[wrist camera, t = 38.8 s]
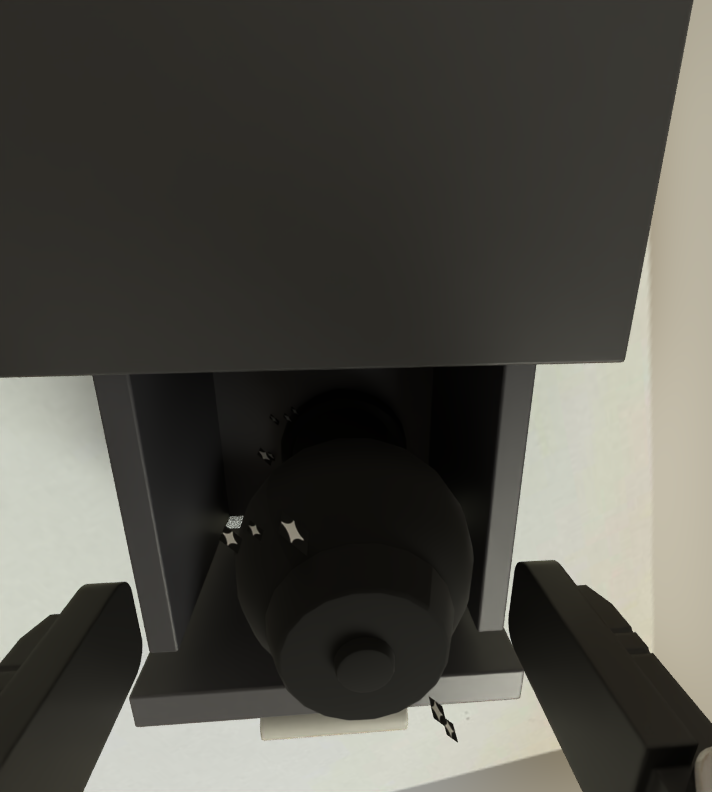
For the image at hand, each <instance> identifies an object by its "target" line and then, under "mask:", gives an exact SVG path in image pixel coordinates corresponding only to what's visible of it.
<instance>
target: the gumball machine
mask: <svg viewBox="0 0 712 792" xmlns="http://www.w3.org/2000/svg"><path fill="white" fill-rule="evenodd" d="M291 411H292V412H293V413H294V414H293V416H292V417H291V418H290V417H289V416H287V415H286V414H285V413H284V416H283V417H284V418H285V419H286V420H287V421H288V422H287V424H286V427H285V430H284V433H283V436H282V440H281V456H282V464H280V465H279V466H277V467H276V468H275V469H274V470H273V471H272V472H271V474H270V475H269V476H268V478H267V479H266V480H265V481H264V483H263V484H262V485H261V487H260V488H259V489H258V491H257V492H256V493H255V494H254V496H253V497H252V498H251V500H250V502H249V504H248V506H247V508H246V511H245V514H244V518H243V521H242V524H241V527H240V530H239V534H238V535H237V534H235V533H234V532H233V531H232V530H230V529H229V528H228V527H226V526H224V529H223V531H222V534H221V537H220V539H219V540H220V541H221V542H223V543H224V544H225V545H227V546H228V547H229V548H231V549H232V550H233V551H234V554H235V569H236V582H237V595H238V599H239V602H240V605H241V608H242V610H243V612H244V614H245V616H246V618H247V620H248V622H249V624H250V626H251V629H252V631H253V633H254V635H255V636H256V638H257V639H258V641H259V642H260V644H261V645H262V647H264V648H265V649H266V650H267V651H268V652H269V653H270V654H271V655H272V657H273V660H274V663H275V666H276V668H277V671H278V673H279V675H280V677H281V679H282V681H283V683H284V685H285V688H286V690H287V691H288V692H289V693H290V694H291V695H292V696H293V697H294V698H296V699H297V700H298V701H299V702H300V703H301V704H302V705H303V706H304V707H307V708H309V709H311V710H313V711H315V712H317V713H319V714H321V715H324V716H327V717H332V718H338V719H343V720H349V721H351V720H369V719H377V718H381V717H384V716H388V715H391V714H395V713H398V712H400V711H402V710H404V709H406V708H407V707H409V706H411V705H413V704H415V703H416V702H418V701H420V700H421V699H422V698H423V697H424V696H425V695H426V694H427V693H428V692H429V691H430V690H431V689H432V688H433V687H434V686H435V685H436V684H437V683H438V681H439V679H440V677H441V675H442V673H443V671H444V669H445V667H446V666H447V663H448V657H449V650H450V643H451V637H452V635H453V633H454V631H455V629H456V627H457V625H458V623H459V621H460V619H461V617H462V616H463V614H464V611H465V609H466V606H467V604H468V601H469V593H470V585H471V578H472V570H473V562H474V556H473V548H472V543H471V539H470V535H469V531H468V527H467V523H466V519H465V515H464V513H463V510H462V508H461V505H460V504H459V502H458V501H457V499H456V498H455V497H454V495H453V494H452V492H451V491H450V490H449V488H448V487H447V485H446V484H445V482H444V481H443V480H442V478H441V477H440V476H439V474H438V473H437V471H436V470H434V469H433V468H431V467H430V466H429V465H427V464H426V463H424V462H423V461H422V460H420V459H419V458H417V457H416V456H414V455H413V454H411V453H410V452H409V451H407V450H406V443H407V440H406V437H405V433H404V430H403V426H402V423H401V421H400V420H399V419H398V417H397V416H396V414H395V413H394V412H393V410H392V409H391V408H390V407H389V406H388V405H386V404H385V403H384V402H382V401H381V400H379V399H378V398H377V397H375V396H372V395H369V394H366V393H363V392H360V391H357V390H334V391H330V392H327V393H324V394H321V395H317V396H315V397H313V398H312V399H310V400H309V401H307V402H306V403H305V404H303V405H302V406H300V407H299V408H298V409H297V410H295V409H294V408H293V407H292V406H291ZM269 418H270V419H271V420H272V421H273V422H275V423H276V424H277V425H278V424H279V421H278V420H277V419H276V418H275V417H274V416H273V415H272V414H271V415H270V417H269ZM257 455H258V456H260V457H261V458H262V459H263V460H264V461H265V462H267V463H268V464H269V465H270V466H271V462H272V460H273V461H275V457H274V456H273V455H272V454H271V453H270V452H269V451H268V454H267V453H266V452H265V451H264V450H263V449H262V448H260V449H259V451H258V454H257ZM429 700H430V704H431V709H432V713H433V717H434V719H436V720H437V721H438V722H440V723H441V724H443V725H444V726H445V729H446V733H447V735H448V736H450V737H451V738H452V739H454V740H455V741H456V742H458V741H457V737H456V734H455V730H454V726H453V724H452V723H451V722H449V721H448V720H447V719H445V716H444V712H443V708H442V706H441V705H440V704H439V703H437V702H436V701H435V700H433V699H432V698H431V697H429Z"/></svg>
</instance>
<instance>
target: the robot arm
mask: <svg viewBox="0 0 712 792" xmlns="http://www.w3.org/2000/svg"><path fill="white" fill-rule="evenodd" d="M508 624H509V633H510V638H511V642H512V645H513V648H514V651H515V653H516V655H517V657H518V659H519V661H520V663H521V665H522V667H523V669H524V672H525V674H526V676H527V678H528V680H529V682H530V684H531V686H532V688H533V690H534V692H535V694H536V696H537V698H538V700H539V703H540V705H541V707H542V709H543V711H544V713H545V715H546V717H547V719H548V721H549V723H550V725H551V727H552V729H553V731H554V734H555V736H556V738H557V740H558V742H559V744H560V746H561V748H562V750H563V752H564V754H565V756H566V758H567V760H568V762H569V765H570V767H571V769H572V771H573V772H574V775H575V777H576V779H577V781H578V783H579V785H580V787H581V789H582V791H583V792H712V723H711V722H710V721H709V720H708V718H707V717H706V716H705V715H704V714H703V713H702V711H701V710H700V709H699V708H698V706H697V705H696V704H695V703H694V702H693V700H692V699H691V698H690V697H689V696H688V695H687V693H686V692H685V691H684V690H683V689H682V687H681V686H680V685H679V684H678V683H677V681H676V680H675V679H674V678H673V677H672V675H671V674H670V673H669V672H668V671H667V669H666V668H665V667H664V666H663V665H662V663H661V662H660V661H659V660H658V659H657V657H656V656H655V655H654V654H653V653H650V652H649V649H648V647H647V645H646V644H645V643H644V642H643V641H642V639H641V638H640V637H639V636H638V635H637V633H636V632H633V631H632V627H631V626H630V625H629V624H628V623H627V621H626V620H625V619H624V618H623V617H622V615H621V614H620V613H619V612H618V611H617V609H616V608H615V607H614V606H613V605H612V604H611V603H610V602H608V601H607V600H606V599H604V598H603V597H602V596H600V595H599V594H598V593H596V592H595V591H593V590H592V589H591V588H589V587H588V586H587V585H579V586H577V585H576V584H575V583H574V581H573V580H572V579H571V578H570V576H569V575H568V574H567V572H566V571H565V570H564V569H563V567H562V566H561V565H560V564H559V563H558V562H557V561H555V560H546V561H527V562H518V563H517V565H516V567H515V571H514V579H513V587H512V594H511V602H510V610H509V619H508ZM141 656H142V637H141V632H140V628H139V623H138V618H137V614H136V609H135V604H134V599H133V595H132V590H131V587H130V585H129V584H128V583H127V582H115V583H96V584H85V585H84V586H82V587H81V588H80V589H79V590H78V591H77V592H76V594H75V595H74V596H73V598H72V599H71V600H70V602H69V603H68V604H67V606H66V607H65V608H64V609H63V611H62V612H61V613H60V614H54V615H49V616H48V617H47V618H46V619H44V620H43V621H42V622H41V623H39V624H38V625H37V626H35V627H34V628H33V629H32V630H30V631H29V632H28V633H27V634H25V635H24V636H23V637H22V638H20V639H19V641H18V642H17V643H16V644H15V646H14V647H13V648H12V649H11V651H10V652H9V653H8V654H7V655H6V657H5V658H4V659H3V660H2V662H1V663H0V792H83V791H84V789H85V786H86V784H87V782H88V780H89V778H90V775H91V773H92V771H93V769H94V767H95V765H96V762H97V760H98V758H99V756H100V754H101V752H102V749H103V747H104V745H105V743H106V741H107V739H108V736H109V734H110V732H111V730H112V728H113V725H114V723H115V721H116V719H117V717H118V715H119V712H120V710H121V708H122V706H123V704H124V702H125V699H126V697H127V695H128V693H129V691H130V689H131V686H132V684H133V682H134V680H135V678H136V675H137V673H138V670H139V666H140V662H141Z"/></svg>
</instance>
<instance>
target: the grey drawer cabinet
mask: <svg viewBox="0 0 712 792" xmlns="http://www.w3.org/2000/svg"><path fill="white" fill-rule="evenodd" d="M692 5H693V0H0V378H6V377H46V376H87V375H127V374H168V373H209V372H249V371H290V370H330V369H371V368H411V367H452V366H492V365H533V364H574V363H614V362H623V361H624V360H625V356H626V351H627V346H628V341H629V335H630V330H631V325H632V320H633V314H634V309H635V304H636V299H637V293H638V288H639V283H640V278H641V272H642V267H643V262H644V257H645V251H646V246H647V241H648V236H649V230H650V225H651V219H652V215H653V209H654V204H655V199H656V194H657V188H658V183H659V178H660V172H661V167H662V162H663V157H664V152H665V146H666V141H667V136H668V131H669V125H670V120H671V115H672V109H673V104H674V99H675V94H676V89H677V84H678V78H679V73H680V67H681V62H682V57H683V52H684V47H685V42H686V36H687V31H688V26H689V21H690V15H691V10H692Z"/></svg>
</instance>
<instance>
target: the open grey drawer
mask: <svg viewBox="0 0 712 792" xmlns="http://www.w3.org/2000/svg"><path fill="white" fill-rule="evenodd" d="M535 371H536V364H533V365H492V366H452V367H411V368H371V369H330V370H290V371H249V372H209V373H168V374H127V375H92V376H93V381H94V385H95V390H96V395H97V400H98V405H99V410H100V414H101V419H102V424H103V429H104V434H105V439H106V443H107V448H108V453H109V458H110V463H111V468H112V472H113V477H114V482H115V487H116V492H117V497H118V501H119V506H120V511H121V516H122V521H123V526H124V531H125V535H126V540H127V545H128V550H129V555H130V560H131V564H132V569H133V574H134V579H135V584H136V589H137V593H138V598H139V603H140V608H141V613H142V618H143V622H144V627H145V632H146V637H147V642H148V647H149V651H150V653H149V655H148V657H147V659H146V662H145V664H144V666H143V668H142V670H141V673H140V675H139V677H138V679H137V681H136V684H135V686H134V688H133V690H132V692H131V695H130V697H129V700H130V704H131V709H132V713H133V717H134V721H135V725H136V727H146V726H159V725H173V724H186V723H200V722H213V721H226V720H240V719H253V718H260V732H261V738H262V740H264V741H265V740H278V739H291V738H304V737H317V736H330V735H342V734H355V733H368V732H381V731H394V730H405V729H407V725H408V714H407V708H406V709H404V710H402V711H400V712H398V713H395V714H391V715H388V716H384V717H381V718H377V719H369V720H351V721H349V720H343V719H338V718H332V717H327V716H324V715H321V714H319V713H317V712H315V711H313V710H311V709H309V708H307V707H304V706H303V705H302V704H301V703H300V702H299V701H298V700H297V699H296V698H294V697H293V696H292V695H291V694H290V693H289V692H288V691H287V690H286V688H285V685H284V683H283V681H282V679H281V677H280V675H279V673H278V671H277V668H276V666H275V663H274V660H273V657H272V655H271V654H270V653H269V652H268V651H267V650H266V649H265V648H264V647H262V645H261V644H260V642H259V641H258V639H257V638H256V636H255V635H254V633H253V631H252V629H251V626H250V624H249V622H248V620H247V618H246V616H245V614H244V612H243V610H242V608H241V605H240V602H239V599H238V595H237V582H236V569H235V554H234V551H233V550H232V549H231V548H229V547H228V546H227V545H225V544H224V543H223V542H221V541H220V540H219V539H220V537H221V534H222V531H223V529H224V526H226V524H227V521H228V519H229V516H244V514H245V511H246V508H247V506H248V504H249V502H250V500H251V498H252V497H253V496H254V494H255V493H256V492H257V491H258V489H259V488H260V487H261V485H262V484H263V483H264V481H265V480H266V479H267V478H268V476H269V475H270V474H271V472H272V471H273V470H274V469H275V468H276V467H277V466H279V465H280V464H282V456H281V440H282V436H283V433H284V430H285V427H286V424H287V422H288V421H287V420H286V419H285V418H284V417H283V416H284V413H285V414H286V415H287V416H289V417H290V418H291V417H292V416H293V414H294V413H293V412H292V411H291V406H292V407H293V408H294V409H295V410H297V409H298V408H299V407H300V406H302V405H303V404H305V403H306V402H307V401H309V400H310V399H312V398H313V397H315V396H317V395H321V394H324V393H327V392H330V391H334V390H357V391H360V392H363V393H366V394H369V395H372V396H375V397H377V398H378V399H379V400H381V401H382V402H384V403H385V404H386V405H388V406H389V407H390V408H391V409H392V410H393V412H394V413H395V414H396V416H397V417H398V419H399V420H400V421H401V423H402V426H403V430H404V433H405V437H406V440H407V443H406V450H407V451H409V452H410V453H411V454H413V455H414V456H416V457H417V458H419V459H420V460H422V461H423V462H424V463H426V464H427V465H429V466H430V467H431V468H433V469H434V470H436V471H437V473H438V474H439V476H440V477H441V478H442V480H443V481H444V482H445V484H446V485H447V487H448V488H449V490H450V491H451V492H452V494H453V495H454V497H455V498H456V499H457V501H458V502H459V504H460V505H461V508H462V510H463V513H464V515H465V519H466V523H467V527H468V531H469V535H470V539H471V543H472V548H473V556H474V562H473V570H472V578H471V585H470V593H469V601H468V604H467V606H466V609H465V611H464V614H463V616H462V617H461V619H460V621H459V623H458V625H457V627H456V629H455V631H454V633H453V635H452V637H451V643H450V650H449V657H448V663H447V666H446V667H445V669H444V671H443V673H442V675H441V677H440V679H439V681H438V683H437V684H436V685H435V686H434V687H433V688H432V689H431V690H430V691H429V692H428V693H427V694H426V695H425V696H424V697H423V698H422V699H421V700H420V701H418V702H416V703H415V704H413V705H411V706H409V707H414V706H428V705H431V704H430V700H429V697H431V698H432V699H433V700H435V701H436V702H437V703H439V704H440V705H441V704H454V703H468V702H481V701H495V700H508V699H519V698H520V695H521V688H522V682H523V675H524V669H523V667H522V665H521V663H520V661H519V659H518V657H517V655H516V653H515V651H514V648H513V646H512V644H511V642H510V640H509V638H508V636H507V634H506V631H505V629H504V627H503V626H504V618H505V610H506V602H507V594H508V586H509V578H510V570H511V562H512V554H513V546H514V538H515V530H516V522H517V514H518V506H519V498H520V490H521V482H522V474H523V466H524V458H525V450H526V442H527V434H528V426H529V418H530V410H531V402H532V395H533V387H534V379H535ZM271 414H272V415H273V416H274V417H275V418H276V419H277V420H278V421H279V424H278V425H277V424H276V423H275V422H273V421H272V420H271V419H270V418H269V417H270V415H271ZM260 448H262V449H263V450H264V451H265V452H266V453H267V454H268V451H269V452H270V453H271V454H272V455H273V456H274V457H275V461H273V460H272V462H271V466H270V465H269V464H268V463H267V462H265V461H264V460H263V459H262V458H261V457H260V456H258V455H257V454H258V451H259V449H260ZM230 530H232V531H233V532H234V533H235V534H237V535H238V534H239V530H240V528H232V529H230Z"/></svg>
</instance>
